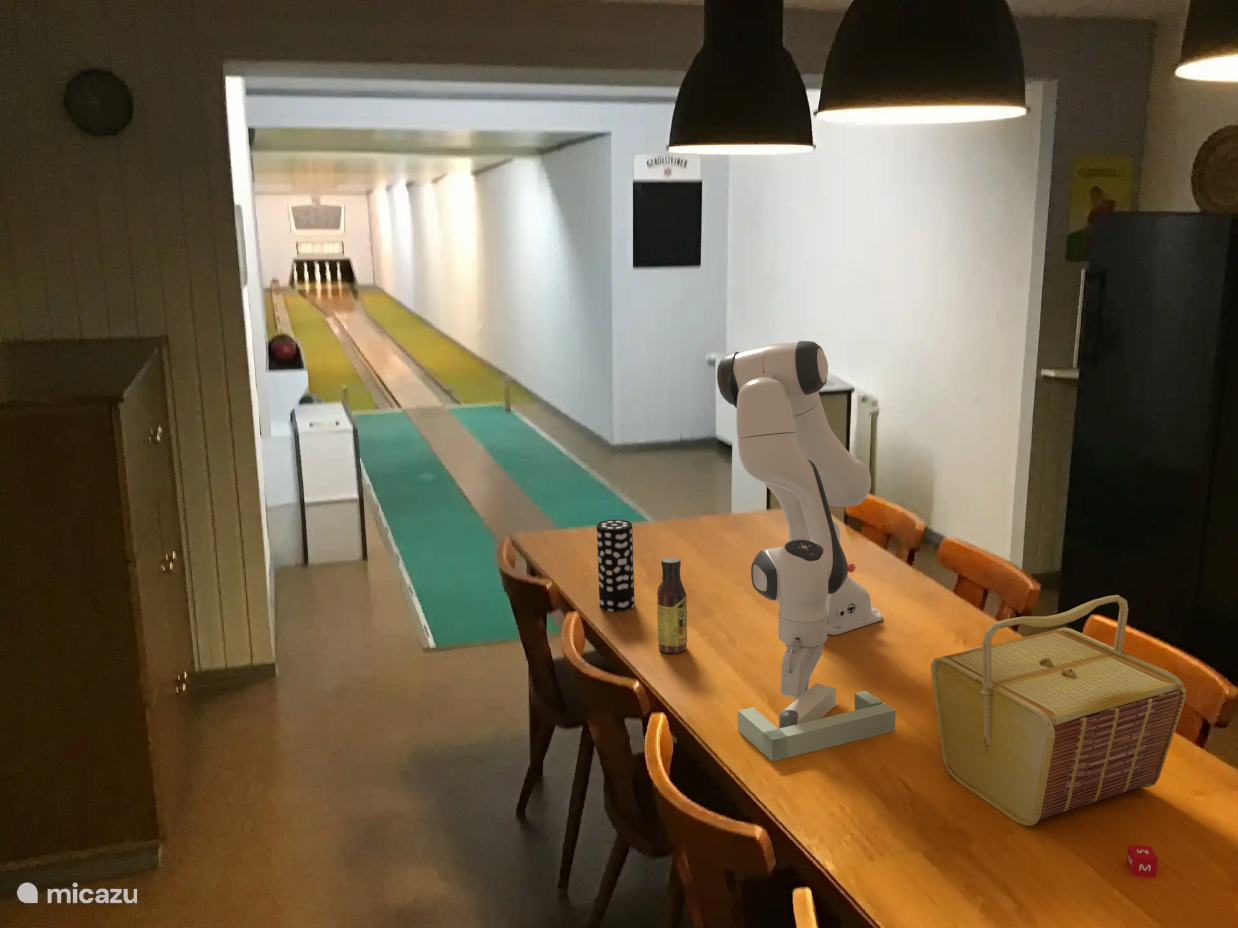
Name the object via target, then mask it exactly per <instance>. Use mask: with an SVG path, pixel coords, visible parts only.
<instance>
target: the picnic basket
mask: <svg viewBox="0 0 1238 928" xmlns="http://www.w3.org/2000/svg"><path fill="white" fill-rule="evenodd" d="M1110 603H1117V604H1118V606H1119V611H1118V616H1117V617H1118V619H1117V625H1116V630H1115V639H1114V644H1113V646H1112V645H1110V644H1107V643H1105V642H1102V641H1100V640H1099V639H1098V640H1097V639H1095V638H1094V637H1091V636H1089V635H1086V634H1084V633H1082V632H1079V631H1076V630H1075V629H1073V628H1068V627H1062V628H1056V629H1052V630H1049V631H1044V632H1040V633H1037V634H1032V635H1027V636H1023V637H1019V638H1016V639H1011V640H1008V641H1003V642H998V643H995V644H992V640H993V637H994V635H995V634H996V633H997V632H998V631H999V630H1000V629H1004V628H1006V627H1012V626H1017V625H1025V626H1028V627H1032V628H1051V627H1056V626H1061V625H1065V624H1068V623H1071V622H1074V621H1076V620H1079V619H1080V618H1083V617H1084V616H1087V615H1088V614H1090V613H1091V612H1092V611H1093V610H1094V609H1096V608H1097V607H1099V606H1100V607H1101V606H1104V605H1106V604H1107V605H1108V604H1110ZM1128 614H1129V606H1128V601H1127V599H1125V598H1124V597H1122V596H1120V595H1119V594H1115V595H1108V596H1107V595H1106V596H1103V597H1100V598H1099V597H1098V598H1097V599H1092V600H1090V601H1087V602H1085V603H1083V604H1080V605H1078V606H1076V607H1074V608H1071V609H1070V610H1067V611H1064V612H1061V613H1057V614H1052V615H1046V616H1019V617H1018V616H1017V617H1012V618H1007V619H1002V620H1000V621H997V622H993V624H991V625H989V627H988V628H987V629H986V630H985V631H984V633H983V638H982V642H981V643H982V645H981V646H980V647H981V648H977V649H972V650H969V649H968V650H965V651H962V652H957V653H952V654H949V655H943V656H939V657H935V658H934V659H933V660H932V662H931V665H930V673H931V679H932V680H931V681H932V689H933V697H934V704H935V705H934V706H935V712H936V720H937V727H938V728H937V729H938V734H939V735H938V736H939V744H940V751H941V756H942V757H941V758H942V760H943V761H942V762H943V764H944V766H945V768H946V770H947V772H948V773H949V775H951V776H952V778H953V779H954V780H955V781H956V782H957V783H959V784H960V785H961V786H962V787H965V789H967V790H968V791H970V792H972V793H973V794H974V795H976V796H978V797H979V798H980V799H982V800H983V801H984V802H986V803H988V804H989V805H991V806H992V807H994V808H995V809H996V810H998V812H1000V813H1002V814H1004V815H1005V816H1006V817H1007V818H1009V819H1011V820H1012V821H1014V822H1016V823H1018V824H1019V825H1021V826H1029V827H1033V826H1034V825H1037V824H1038V822H1039V821H1040V820H1043V819H1046V818H1049V817H1052V816H1055V815H1058V814H1061V813H1065V812H1068V811H1071V810H1074V809H1077V808H1079V807H1080V808H1081V807H1083V806H1086V805H1088V804H1092V803H1096V802H1097V801H1102V800H1104V799H1107V798H1110V797H1111V798H1112V797H1113V796H1117V795H1119V794H1123V793H1126V792H1129V791H1132V790H1134V789H1135V790H1136V789H1138V788H1150V787H1153V786H1154V785H1156V783H1157V782H1158V781H1159V779H1160V777H1161V773H1162V770H1163V768H1164V765H1165V762H1166V760H1167V757H1168V756H1167V755H1168V753H1169V750H1170V747H1171V745H1172V741H1173V737H1174V735H1175V732H1176V729H1177V725H1178V723H1179V721H1180V717H1181V713H1182V711H1183V708H1184V706H1185V702H1186V697H1187V690H1186V688H1185V686H1184V685H1185V684H1184V683H1183V681H1181V680H1180V678H1179V676H1177V675H1175V674H1173V673H1172V672H1171V671H1168V670H1166V669H1164V668H1162V667H1159V666H1158V665H1155V664H1153V663H1151V662H1148V661H1146V660H1143V659H1141V658H1138V657H1137V656H1134V655H1132V654H1129V653H1128V652H1125V651H1123V649H1124V642H1125V641H1124V640H1125V636H1126V629H1127V621H1128Z"/></svg>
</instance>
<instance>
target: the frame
mask: <svg viewBox="0 0 1238 928" xmlns="http://www.w3.org/2000/svg"><path fill="white" fill-rule="evenodd" d="M896 716H897V715H896V709H895V708H893V707H891V706H890V705H888V704H887V703H886V702H885V703H883V701H882V700H881V699H879V698H878V697H876V696H875V695H873V694H872V693H870V692H868V691H867V690H864V691H860V692H855V693H854V710H851V711H848V712H844V713H840V714H833V715H831V716H826V717H822V718H821V719H817V720H813V721H809V722H805V723H801V724H796V725H792V726H788V727H784V728H780V729H779V727H777V726H776V725H775V724H774V723H773V722H771V720H769V719H767V717H765V716H764V715H763V714H762V713H760V712H759V711H758V710H757V709H756V708H755V707H754V706H752V707H748V708H743V709H739V710H737V731H738V732H739V733H740V734H741V735H742V736H743V737H744V738H745V739H746V740H747V741H749V742H750V744H752V745H753V746H754V747H755V748H757V749H758V750H759V751H760V752H761V753H762V754H763V755H764V756H765V757H766V758H768V759H769V761H770V762H772V761H773V762H776V761H780V760H785V759H789V758H792V757H797V756H800V755H804V754H807V753H811V752H816V751H821V750H824V749H828V748H832V747H836V746H839V745H844V744H847V743H848V744H849V743H852V742H857V741H861V740H863V739H868V738H871V737H876V736H881V735H884V734H889V733H892V732H895V731H896ZM788 757H789V758H788Z"/></svg>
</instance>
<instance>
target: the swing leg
mask: <svg viewBox="0 0 1238 928" xmlns="http://www.w3.org/2000/svg"><path fill="white" fill-rule="evenodd" d="M836 693H837V688H836V687H832V686H828V685H825V684H821V683H817V682H815V684H813V685H811V687H810V688H808V690H807V691H806V692H805V693H804V694H802V695H801V696H800V697H799V698H798V699H796V700H795V699H794V701H793V702H792V703H790V704H789V705H788V706H787V707H786V708H785V709H783V710H781V711H780V712H779V713H778V729H780V728H784V727H788V726H792V725H796V724H801V723H805V722H809V721H813V720H817V719H822V718H824V716H825V715H827V713H829V712H830V711H831V710H832V709H834V708H835V706H836V700H837V699H836V698H837V697H836Z"/></svg>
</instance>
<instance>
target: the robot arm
mask: <svg viewBox="0 0 1238 928" xmlns="http://www.w3.org/2000/svg"><path fill="white" fill-rule="evenodd" d="M828 374H829V364H828V359H827V356H826V354H825V352H824V349H823V347H821V346H820V345H819V344H817V342H815V341H810V340H809V341H808V340H799V341H798V342H784V343H783V342H781V343H774V344H773V343H772V344H768V345H766V346H760V347H755V348H751V349H747V350H745V351H741V352H739V351H736V352H732V353H729V354H727V355H726V356H723V357H722V358H721V360H720V361H719V363H718V366H717V370H716V381H717V386H718V390H719V393H720V395H721V397H722V398H723V399H724V400H725V402H727V403H728V404H729V405H732V406H734V408H735V409H736V436H737V445H738V446H737V447H738V452H739V453H738V454H739V458H740V462H741V465H742V467H743V468H744V470H745V471H746V472H747V473H748V474H749V475H750V476H752V477H753V478H755V479H756V480H758V481H760V482H762V483H763V484H764V485H765V486H766V487H767V488H768V489H769V491H771V492H772V494H773V495H774V496H775V498H776V500H778V502H779V505H780V507H781V509H782V511H783V514H784V517H785V519H786V520H785V521H786V524H787V531H788V542H786V543H784V545H783V546H778V547H777V546H776V547H771V548H765V549H763V550H760V551H759V552H758V553H757V554H756V555H755V558H754V559H753V561H752V564H751V568H750V569H751V570H750V573H751V575H750V576H751V584H752V587H753V589H754V590H755V591H756V592H758V593H759V595H761V596H763V597H764V598H766V599H767V600H769V601H776V602H778V603H779V610H778V633H777V635H778V639H779V641H781V642H782V643H784V646H785V648H786V649H785V652H784V653H783V656H782V662H781V673H780V692H781V695H782V696H786V697H790V698H791V697H793V698H794V701H795V700H796V699H798V698H799V697H800V696H801V695H802V694H804V693H805V692H806V691H807V690H808V689H809V684H810V680H811V676H812V674H813V673H814V670H815V668H816V666H817V665H818V663H819V660H820V658H821V657H822V655H823V654H822V652H823V649H824V643H826V641H827V639H828V635H832V636H837V635H841V634H843V633H847V632H850V631H853V630H855V629H860V628H862V627H865V626H868V625H871V624H873V623H877V622H880V621H882V619H883V618H882V612H881V611H879V610H878V609H877V608H876V607H874V606H873V605H872V602H871V597H870V594H869V591H868V590H867V589H866V588H865V587H864V586H863V585H861V584H860V583H859V582H857V581H856V580H854V579H853V578H851V576H849V575H848V574H849V573H854V572H855V570H856V565H855V564H854V563H852V562H850V561H848V560H847V557H846V555H845V552H844V550H843V548H842V546H841V531H840V526H839V525H838V523H837V522H836V521H835V519H833V516H832V514H831V510H830V506H831V507H832V506H833V507H857V506H859V505H860V504H862V503H863V501H865V499H866V498H867V496H868V495H869V493H870V491H871V487H872V486H871V485H872V476H871V473H870V470H869V468H868V466H867V465H866V464H865V463H864V462H862V461H861V460H859V459H858V458H857V457H856V456H854V455H853V454H852V453H851V452H849V450H847V448H846V447H845V446H844V445H843V444H842V443H841V441H840V440H839V439H838V437H837V436H836V434H835V433H834V432H833V430H832V428H831V425H830V424H829V422H828V418H827V416H826V413H825V409H824V406H823V403H822V399H821V396H820V393H819V391H821V390H822V389H823V388H824V386H825V385H826V384H827V380H828Z"/></svg>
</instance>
